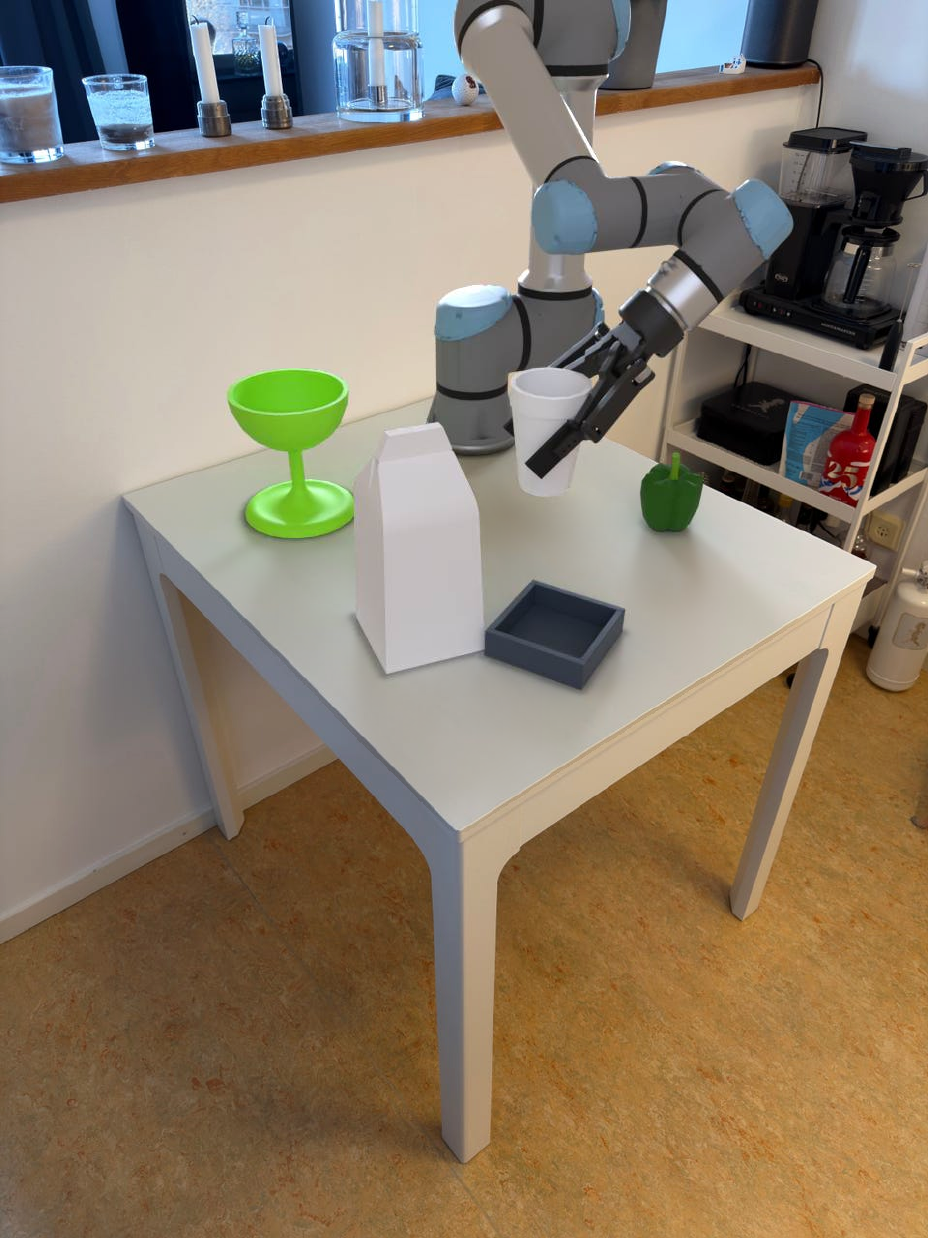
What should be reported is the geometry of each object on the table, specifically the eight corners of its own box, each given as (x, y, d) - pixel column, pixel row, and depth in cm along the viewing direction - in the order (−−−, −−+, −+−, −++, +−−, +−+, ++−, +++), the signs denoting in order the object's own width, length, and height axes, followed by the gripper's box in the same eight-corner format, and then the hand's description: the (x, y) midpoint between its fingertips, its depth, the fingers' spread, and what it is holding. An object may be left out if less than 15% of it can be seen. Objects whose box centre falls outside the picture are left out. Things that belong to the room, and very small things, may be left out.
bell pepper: (682, 545, 122) (694, 479, 116) (627, 528, 126) (636, 463, 120) (704, 519, 128) (717, 455, 122) (651, 503, 132) (660, 441, 126)
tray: (531, 602, 111) (532, 579, 109) (622, 632, 107) (625, 608, 105) (484, 655, 103) (484, 630, 101) (581, 690, 98) (583, 665, 96)
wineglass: (298, 551, 120) (283, 426, 110) (221, 512, 128) (201, 393, 118) (380, 505, 131) (373, 387, 120) (304, 473, 139) (292, 359, 128)
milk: (386, 674, 100) (374, 462, 85) (356, 617, 109) (340, 415, 93) (484, 649, 104) (491, 442, 88) (448, 596, 112) (447, 399, 97)
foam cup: (526, 460, 115) (532, 362, 108) (594, 476, 112) (604, 376, 104) (493, 491, 109) (496, 389, 101) (563, 510, 105) (572, 405, 97)
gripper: (611, 259, 107) (479, 396, 113) (686, 319, 89) (525, 476, 96) (647, 301, 111) (518, 431, 118) (726, 367, 94) (569, 514, 100)
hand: (521, 451), depth 107 cm, fingers closed on foam cup, 9 cm apart
